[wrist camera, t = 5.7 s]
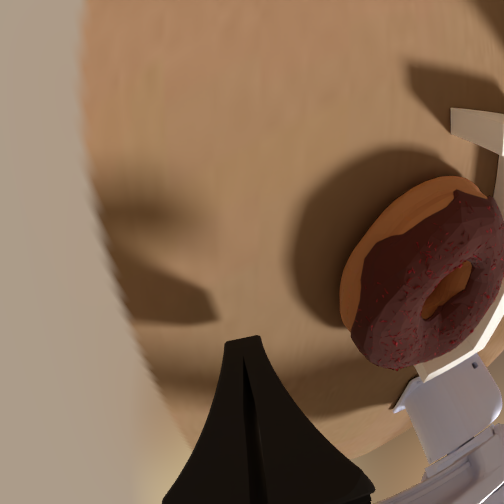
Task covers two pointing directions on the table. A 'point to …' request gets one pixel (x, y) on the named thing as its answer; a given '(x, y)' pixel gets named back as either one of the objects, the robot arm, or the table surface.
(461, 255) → the donut
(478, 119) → the stop
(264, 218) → the table surface
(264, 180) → the table surface
